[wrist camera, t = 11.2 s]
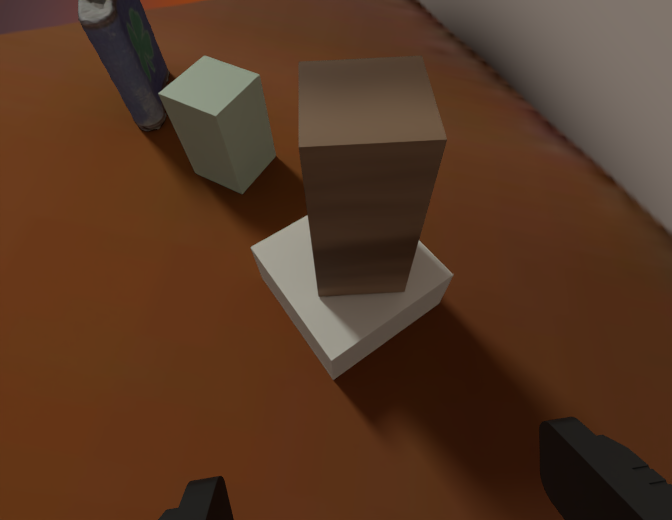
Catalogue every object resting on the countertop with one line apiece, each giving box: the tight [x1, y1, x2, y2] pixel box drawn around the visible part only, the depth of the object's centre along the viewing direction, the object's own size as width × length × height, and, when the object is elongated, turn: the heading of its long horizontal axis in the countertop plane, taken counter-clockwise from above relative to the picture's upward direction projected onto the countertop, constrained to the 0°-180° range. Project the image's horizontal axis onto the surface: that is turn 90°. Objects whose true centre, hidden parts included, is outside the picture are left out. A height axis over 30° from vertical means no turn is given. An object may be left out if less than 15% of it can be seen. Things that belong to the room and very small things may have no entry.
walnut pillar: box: [299, 56, 447, 297], centre depth 17 cm, size 4×4×10 cm
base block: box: [251, 215, 453, 380], centre depth 23 cm, size 8×8×4 cm
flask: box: [78, 0, 169, 131], centre depth 30 cm, size 9×3×11 cm, turn 9°
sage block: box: [158, 56, 276, 194], centre depth 27 cm, size 4×4×7 cm
